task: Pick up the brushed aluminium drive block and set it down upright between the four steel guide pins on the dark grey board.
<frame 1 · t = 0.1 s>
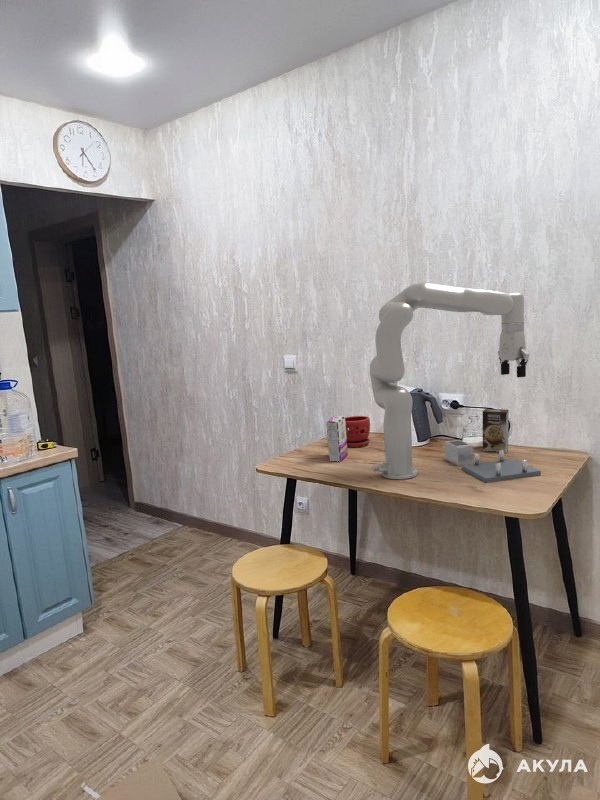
hand: (513, 375, 197), 31 cm above the table, tool pointing down, fingers open, 9 cm apart
pin board: (500, 472, 188), on the table
guide pins: (500, 462, 187), on the pin board, point 4 cm above the table
drive: (458, 461, 204), on the table
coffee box: (495, 450, 216), on the table
plant pot: (355, 445, 240), on the table
candy bar box: (338, 458, 220), on the table
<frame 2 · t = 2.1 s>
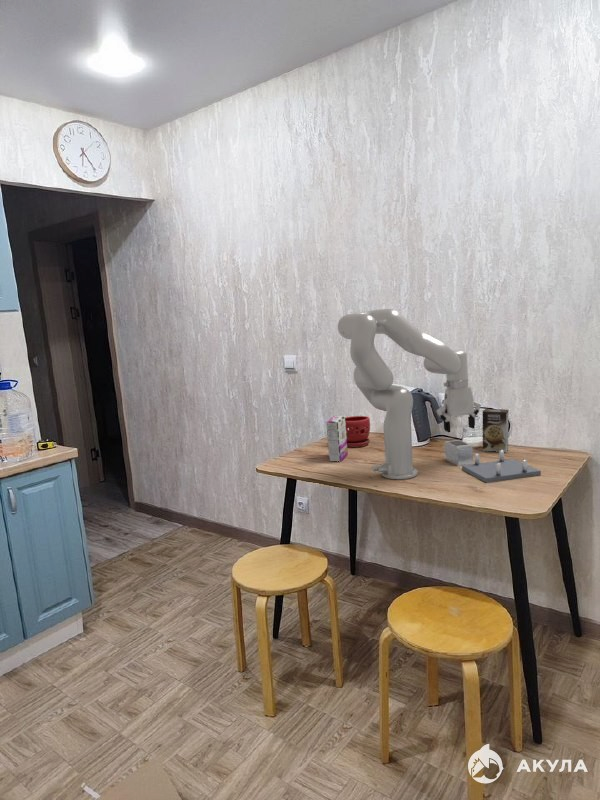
hand: (459, 429, 203), 12 cm above the table, tool pointing down, fingers open, 9 cm apart
nothing on the table moved.
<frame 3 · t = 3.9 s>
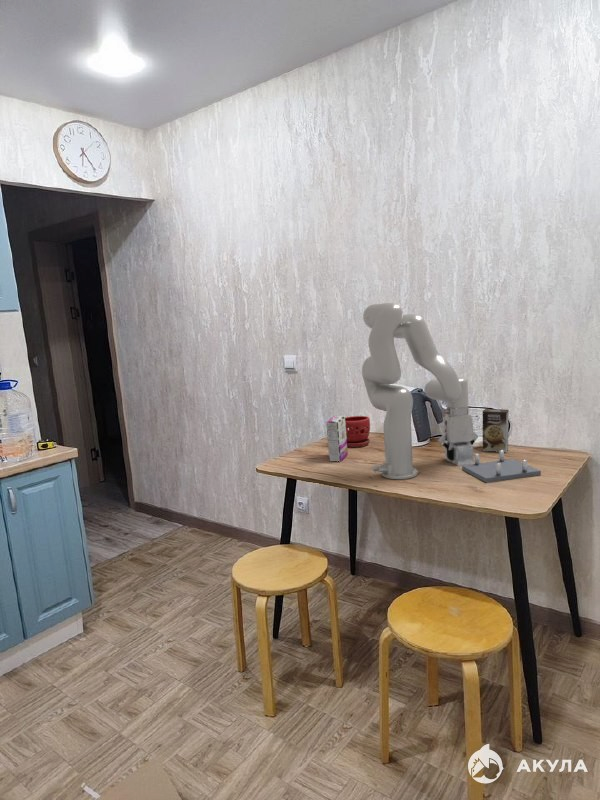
hand: (458, 458, 204), 1 cm above the table, tool pointing down, fingers closed on drive, 6 cm apart
drive: (458, 461, 204), on the table, touching gripper
everything else where it was.
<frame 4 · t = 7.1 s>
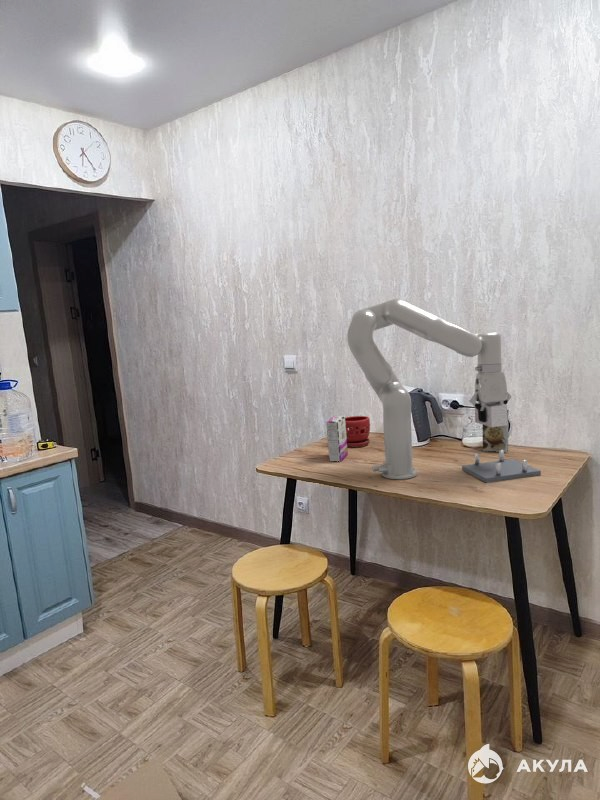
hand: (491, 420, 188), 18 cm above the table, tool pointing down, fingers closed on drive, 6 cm apart
drive: (490, 423, 189), point 17 cm above the table, touching gripper
everything else where it was.
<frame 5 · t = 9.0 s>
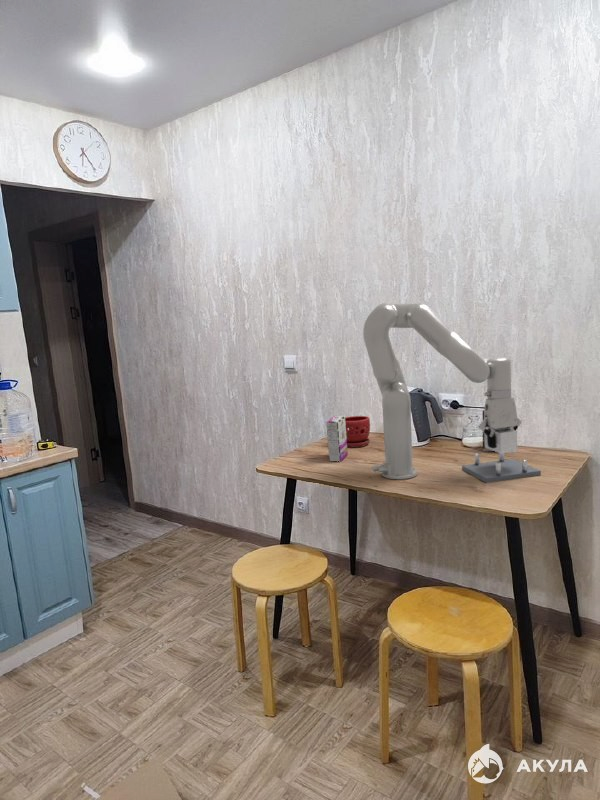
hand: (500, 445, 186), 9 cm above the table, tool pointing down, fingers closed on drive, 6 cm apart
drive: (500, 449, 187), point 8 cm above the table, touching gripper
everything else where it was.
when the fingers open (4 cm above the table, at t = 10.5 s): drive drops 1 cm, resting on pin board.
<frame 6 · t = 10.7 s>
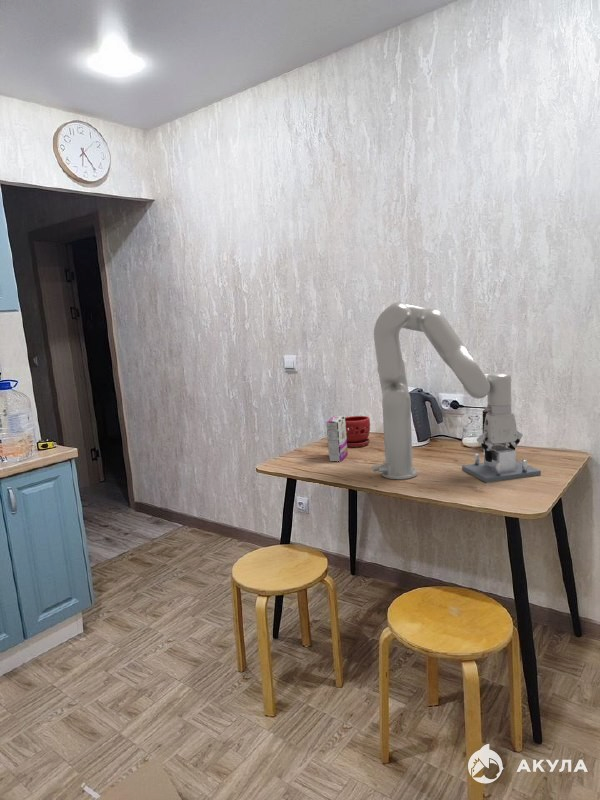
hand: (500, 459, 187), 5 cm above the table, tool pointing down, fingers open, 8 cm apart
drive: (499, 468, 188), point 1 cm above the table, touching pin board
everything else where it was.
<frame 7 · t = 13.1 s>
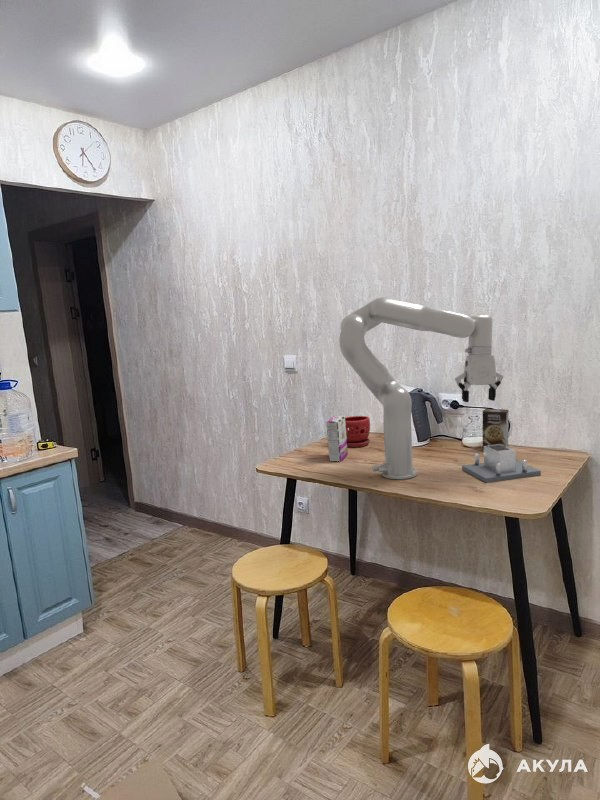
hand: (478, 400, 189), 24 cm above the table, tool pointing down, fingers open, 9 cm apart
nothing on the table moved.
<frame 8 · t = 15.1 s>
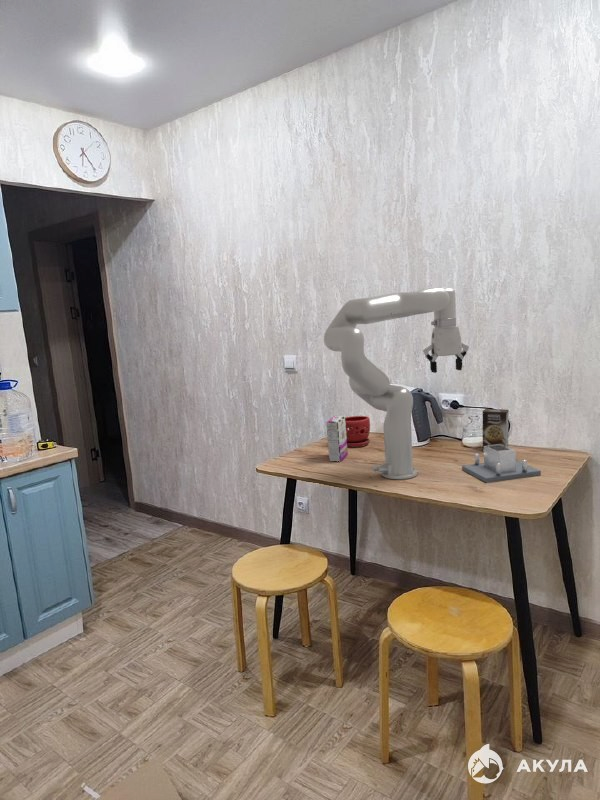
hand: (446, 371, 198), 34 cm above the table, tool pointing down, fingers open, 9 cm apart
nothing on the table moved.
at the end: drive 0.2 cm off-centre on the pin board, point 1.5 cm above the pin board's base; drive tilted 0°; the gripper is holding nothing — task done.
